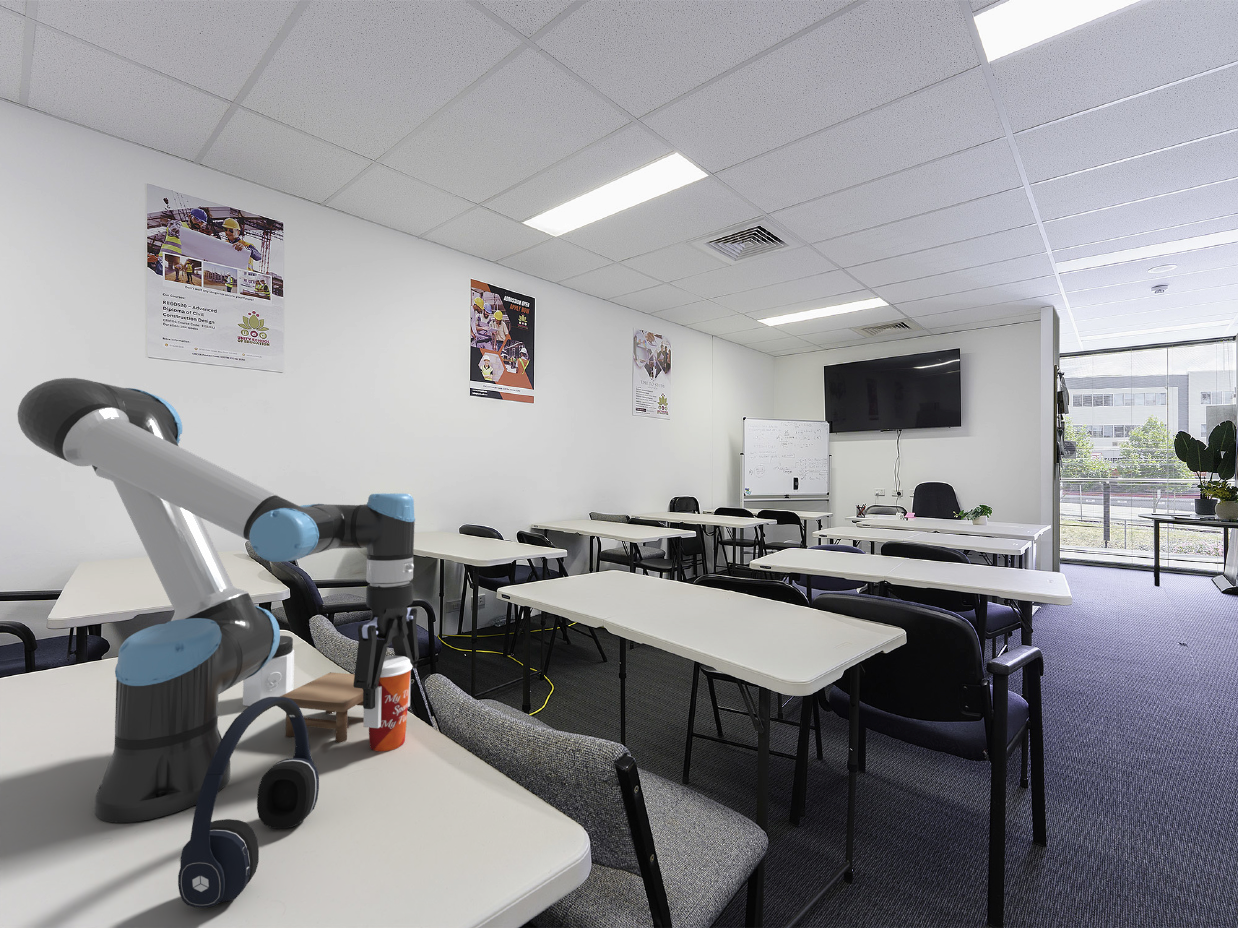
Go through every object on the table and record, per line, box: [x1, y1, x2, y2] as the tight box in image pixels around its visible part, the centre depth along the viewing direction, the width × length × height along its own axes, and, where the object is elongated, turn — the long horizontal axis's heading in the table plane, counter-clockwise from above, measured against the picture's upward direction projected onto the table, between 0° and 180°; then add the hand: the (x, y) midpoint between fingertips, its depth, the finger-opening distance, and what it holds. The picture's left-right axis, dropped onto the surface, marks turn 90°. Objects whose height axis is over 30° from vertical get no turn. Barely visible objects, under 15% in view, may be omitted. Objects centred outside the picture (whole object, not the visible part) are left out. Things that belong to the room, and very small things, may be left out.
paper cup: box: [368, 655, 413, 753], centre depth 96 cm, size 8×8×14 cm
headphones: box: [177, 697, 320, 909], centre depth 67 cm, size 20×7×18 cm, turn 2°
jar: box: [242, 635, 295, 707], centre depth 115 cm, size 9×8×12 cm
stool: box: [280, 672, 363, 744], centre depth 103 cm, size 13×13×7 cm
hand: (387, 715), depth 96 cm, fingers closed on paper cup, 8 cm apart
